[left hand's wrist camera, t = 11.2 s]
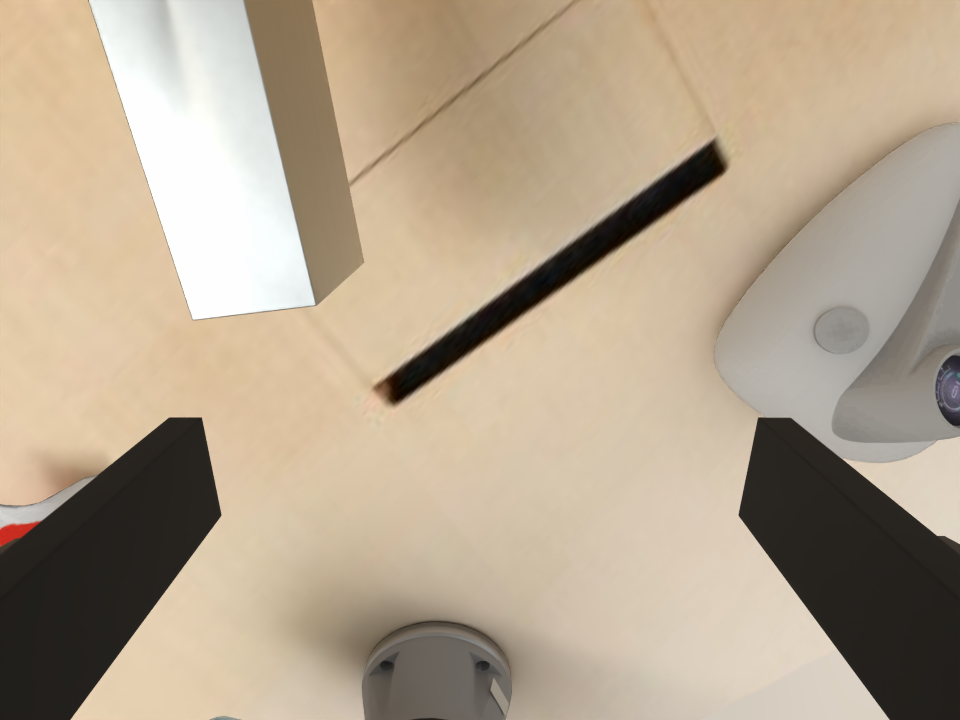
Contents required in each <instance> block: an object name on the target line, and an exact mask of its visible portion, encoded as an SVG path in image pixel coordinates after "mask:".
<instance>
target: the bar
mask: <svg viewBox="0 0 960 720" xmlns="http://www.w3.org/2000/svg"><path fill="white" fill-rule="evenodd" d="M88 1H89V4H90V7H91V10H92V13H93V17H94V20H95V23H96V26H97V29H98V32H99V35H100V38H101V41H102V44H103V47H104V50H105V53H106V56H107V59H108V63H109V66H110V69H111V72H112V75H113V78H114V81H115V84H116V87H117V90H118V93H119V96H120V99H121V102H122V105H123V108H124V112H125V115H126V118H127V121H128V124H129V127H130V130H131V133H132V136H133V139H134V142H135V145H136V148H137V151H138V154H139V158H140V161H141V164H142V167H143V170H144V173H145V176H146V179H147V182H148V185H149V188H150V191H151V194H152V197H153V200H154V204H155V207H156V210H157V213H158V216H159V219H160V222H161V225H162V228H163V231H164V234H165V237H166V240H167V243H168V246H169V249H170V253H171V256H172V259H173V262H174V265H175V268H176V271H177V274H178V277H179V280H180V283H181V286H182V289H183V292H184V295H185V299H186V302H187V305H188V308H189V311H190V314H191V317H192V320H203V319H211V318H219V317H228V316H236V315H244V314H252V313H261V312H269V311H277V310H286V309H294V308H302V307H311V306H317V305H318V304H319V303H320V302H321V301H322V300H323V299H324V298H326V297H327V296H328V295H329V294H330V293H331V292H332V291H333V290H334V289H336V288H337V287H338V286H339V285H340V284H341V283H342V282H343V281H344V280H345V279H347V278H348V277H349V276H350V275H351V274H352V273H353V272H354V271H355V270H357V269H358V268H359V267H360V266H361V265H362V264H363V263H364V259H363V254H362V249H361V244H360V239H359V234H358V229H357V224H356V219H355V214H354V209H353V204H352V199H351V194H350V189H349V184H348V179H347V174H346V169H345V164H344V158H343V153H342V148H341V143H340V138H339V133H338V128H337V123H336V118H335V113H334V108H333V103H332V98H331V93H330V88H329V83H328V78H327V73H326V68H325V63H324V58H323V53H322V48H321V43H320V38H319V33H318V28H317V22H316V17H315V12H314V7H313V2H312V0H88Z"/></svg>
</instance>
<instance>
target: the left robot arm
mask: <svg viewBox="0 0 960 720" xmlns="http://www.w3.org/2000/svg"><path fill="white" fill-rule="evenodd" d="M220 517H221V510H220V505H219V500H218V496H217V491H216V486H215V481H214V476H213V471H212V466H211V461H210V456H209V451H208V446H207V441H206V436H205V431H204V426H203V421H202V418H168V419H167V420H166V421H164V422H163V423H162V424H161V425H159V426H158V427H157V428H156V429H155V430H153V431H152V432H151V433H150V434H148V435H147V436H146V437H145V438H143V439H142V440H141V441H140V442H138V443H137V444H136V445H135V446H134V447H132V448H131V449H130V450H129V451H127V452H126V453H125V454H124V455H122V456H121V457H120V458H119V459H117V460H116V461H115V462H114V463H113V464H111V465H110V466H109V467H108V468H106V469H105V470H104V471H103V472H101V473H100V474H99V475H98V476H96V477H95V478H94V479H93V480H91V481H90V482H89V483H88V484H87V485H85V486H84V487H83V488H82V489H80V490H79V491H78V492H77V493H75V494H74V495H73V496H72V497H70V498H69V499H68V500H67V501H66V502H64V503H63V504H62V505H61V506H59V507H58V508H57V509H56V510H54V511H53V512H52V513H51V514H49V515H48V516H47V517H46V518H45V519H43V520H42V521H41V522H40V523H38V524H37V525H36V526H35V527H33V528H32V529H31V530H30V531H28V532H27V533H26V534H25V535H24V536H22V537H21V538H15V539H13V540H12V541H10V542H8V543H6V544H4V545H2V546H0V720H70V719H71V718H72V717H73V715H74V714H75V713H76V711H77V710H78V709H79V707H80V706H81V705H82V703H83V702H84V700H85V699H86V698H87V696H88V695H89V694H90V692H91V691H92V690H93V688H94V687H95V686H96V684H97V683H98V682H99V680H100V679H101V678H102V676H103V675H104V673H105V672H106V671H107V669H108V668H109V667H110V665H111V664H112V663H113V661H114V660H115V659H116V657H117V656H118V655H119V653H120V652H121V651H122V649H123V648H124V646H125V645H126V644H127V642H128V641H129V640H130V638H131V637H132V636H133V634H134V633H135V632H136V630H137V629H138V628H139V626H140V625H141V623H142V622H143V621H144V619H145V618H146V617H147V615H148V614H149V613H150V611H151V610H152V609H153V607H154V606H155V605H156V603H157V602H158V601H159V599H160V598H161V596H162V595H163V594H164V592H165V591H166V590H167V588H168V587H169V586H170V584H171V583H172V582H173V580H174V579H175V578H176V576H177V575H178V574H179V572H180V571H181V569H182V568H183V567H184V565H185V564H186V563H187V561H188V560H189V559H190V557H191V556H192V555H193V553H194V552H195V551H196V549H197V548H198V546H199V545H200V544H201V542H202V541H203V540H204V538H205V537H206V536H207V534H208V533H209V532H210V530H211V529H212V528H213V526H214V525H215V524H216V522H217V521H218V519H219V518H220ZM739 517H740V518H741V519H742V521H743V522H744V524H745V525H746V526H747V528H748V529H749V530H750V532H751V533H752V534H753V536H754V537H755V538H756V540H757V541H758V542H759V544H760V545H761V546H762V548H763V549H764V551H765V552H766V553H767V555H768V556H769V557H770V559H771V560H772V561H773V563H774V564H775V565H776V567H777V568H778V569H779V571H780V572H781V574H782V575H783V576H784V578H785V579H786V580H787V582H788V583H789V584H790V586H791V587H792V588H793V590H794V591H795V592H796V594H797V595H798V596H799V598H800V599H801V601H802V602H803V603H804V605H805V606H806V607H807V609H808V610H809V611H810V613H811V614H812V615H813V617H814V618H815V619H816V621H817V622H818V623H819V625H820V626H821V628H822V629H823V630H824V632H825V633H826V634H827V636H828V637H829V638H830V640H831V641H832V642H833V644H834V645H835V646H836V648H837V649H838V651H839V652H840V653H841V655H842V656H843V657H844V659H845V660H846V661H847V663H848V664H849V665H850V667H851V668H852V669H853V671H854V672H855V673H856V675H857V676H858V678H859V679H860V680H861V682H862V683H863V684H864V686H865V687H866V688H867V690H868V691H869V692H870V694H871V695H872V696H873V698H874V699H875V700H876V702H877V703H878V705H879V706H880V707H881V709H882V710H883V711H884V713H885V714H886V715H887V717H888V718H889V719H890V720H960V544H958V543H956V542H955V541H953V540H951V539H949V538H947V537H945V536H936V535H935V534H934V533H933V532H932V531H930V530H929V529H928V528H927V527H925V526H924V525H923V524H922V523H920V522H919V521H918V520H917V519H915V518H914V517H913V516H912V515H911V514H909V513H908V512H907V511H906V510H904V509H903V508H902V507H901V506H899V505H898V504H897V503H896V502H894V501H893V500H892V499H891V498H890V497H888V496H887V495H886V494H885V493H883V492H882V491H881V490H880V489H878V488H877V487H876V486H875V485H873V484H872V483H871V482H870V481H869V480H867V479H866V478H865V477H864V476H862V475H861V474H860V473H859V472H857V471H856V470H855V469H854V468H852V467H851V466H850V465H849V464H847V463H846V462H845V461H844V460H843V459H841V458H840V457H839V456H838V455H836V454H835V453H834V452H833V451H831V450H830V449H829V448H828V447H826V446H825V445H824V444H823V443H822V442H820V441H819V440H818V439H817V438H815V437H814V436H813V435H812V434H810V433H809V432H808V431H807V430H805V429H804V428H803V427H802V426H801V425H799V424H798V423H797V422H796V421H794V420H793V419H792V418H758V421H757V426H756V431H755V436H754V441H753V446H752V451H751V456H750V461H749V466H748V471H747V476H746V481H745V486H744V491H743V496H742V500H741V505H740V510H739ZM511 693H512V691H511V673H510V667H509V664H508V661H507V659H506V657H505V655H504V654H503V652H502V651H501V650H500V648H499V647H498V646H497V645H496V644H495V643H494V642H493V641H491V640H490V639H489V638H488V637H486V636H485V635H483V634H481V633H479V632H477V631H475V630H473V629H471V628H468V627H465V626H461V625H457V624H452V623H444V622H428V623H420V624H415V625H411V626H407V627H405V628H402V629H399V630H397V631H395V632H393V633H392V634H390V635H388V636H387V637H386V638H384V639H383V640H382V641H381V642H380V643H379V644H378V645H377V646H376V647H375V648H374V650H373V651H372V652H371V654H370V656H369V658H368V661H367V664H366V669H365V673H364V677H363V682H362V697H363V706H364V715H365V720H505V719H506V716H507V712H508V709H509V705H510V700H511ZM210 720H240V719H235V718H231V717H225V716H221V717H216V718H213V719H210Z"/></svg>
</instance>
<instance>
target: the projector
mask: <svg viewBox="0 0 960 720" xmlns="http://www.w3.org/2000/svg"><path fill="white" fill-rule="evenodd" d="M714 362H715V365H716V368H717V371H718V373H719V375H720V376H721V378H722V379H723V381H724V382H725V383H726V384H727V386H728V387H729V388H730V389H731V390H732V391H733V392H734V393H735V394H736V395H737V396H738V397H739V398H740V399H741V400H743V401H744V402H745V403H746V404H747V405H749V406H750V407H751V408H753V409H754V410H755V411H757V412H758V413H760V414H761V415H763V416H764V417H766V418H792V419H793V420H794V421H796V422H797V423H798V424H799V425H801V426H802V427H803V428H804V429H805V430H807V431H808V432H809V433H810V434H812V435H813V436H814V437H815V438H817V439H818V440H819V441H820V442H822V443H823V444H824V445H825V446H826V447H828V448H829V449H830V450H831V451H833V452H834V453H835V454H836V455H838V456H839V457H842V458H845V459H849V460H853V461H860V462H869V463H887V462H895V461H899V460H903V459H906V458H909V457H911V456H913V455H916V454H918V453H920V452H922V451H923V450H925V449H926V448H928V447H929V446H931V445H933V444H934V443H935V442H936V441H937V440H942V439H950V438H954V437H959V436H960V123H948V124H943V125H939V126H936V127H933V128H930V129H928V130H926V131H924V132H922V133H920V134H918V135H916V136H915V137H913V138H912V139H910V140H908V141H907V142H905V143H904V144H902V145H901V146H899V147H898V148H897V149H895V150H894V151H892V152H891V153H889V154H888V155H887V156H885V157H884V158H883V159H881V160H880V161H879V162H878V163H876V164H875V165H874V166H872V167H871V168H870V169H868V170H867V171H866V172H864V173H863V174H862V175H861V176H860V177H858V178H857V179H856V180H855V181H854V182H852V183H851V184H850V185H849V186H848V187H846V188H845V189H844V190H843V191H842V192H841V193H839V194H838V195H837V196H836V197H835V198H834V199H833V200H832V201H830V202H829V203H828V204H827V205H826V206H825V207H824V208H823V209H822V210H821V211H820V212H819V213H818V214H817V215H815V216H814V217H813V218H812V219H811V220H810V221H809V222H808V223H807V224H806V225H805V226H804V227H803V228H802V229H801V230H800V231H799V232H798V233H797V234H796V235H795V236H794V238H793V239H792V240H791V241H790V242H789V243H788V244H787V245H786V246H785V247H784V248H783V249H782V250H781V252H780V253H779V254H778V255H777V256H776V257H775V258H774V259H773V260H772V262H771V263H770V264H769V265H768V266H767V267H766V269H765V270H764V271H763V272H762V273H761V274H760V276H759V277H758V278H757V279H756V280H755V282H754V283H753V284H752V285H751V287H750V288H749V289H748V290H747V292H746V293H745V294H744V296H743V297H742V298H741V300H740V301H739V302H738V304H737V305H736V306H735V308H734V309H733V311H732V312H731V314H730V315H729V317H728V318H727V320H726V321H725V323H724V325H723V327H722V329H721V330H720V332H719V335H718V337H717V340H716V343H715V347H714Z"/></svg>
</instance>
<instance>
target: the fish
mask: <svg viewBox="0 0 960 720" xmlns="http://www.w3.org/2000/svg"><path fill="white" fill-rule="evenodd" d="M96 476H98V475H95V476H91V477H86V478H84V479H82V480H80V481H78V482H76V483H74V484H73V485H71V486H69V487H68V488H66V489H64V490H62V491H60V492H59V493H57V494H55V495H53V496H51V497H49V498H47V499H46V500H44V501H42V502H40V503H36V504H31V505H25V506H12V505H2V504H0V546H2V545H4V544H6V543H8V542H10V541H12V540H13V539H15V538H21V537H22V536H24V535H25V534H26V533H27V532H28V531H30V530H31V529H32V528H33V527H35V526H36V525H37V524H38V523H40V522H41V521H42V520H43V519H45V518H46V517H47V516H48V515H49V514H51V513H52V512H53V511H54V510H56V509H57V508H58V507H59V506H61V505H62V504H63V503H64V502H66V501H67V500H68V499H69V498H70V497H72V496H73V495H74V494H75V493H77V492H78V491H79V490H80V489H82V488H83V487H84V486H85V485H87V484H88V483H89V482H90V481H91V480H93V479H94V478H95V477H96Z"/></svg>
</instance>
